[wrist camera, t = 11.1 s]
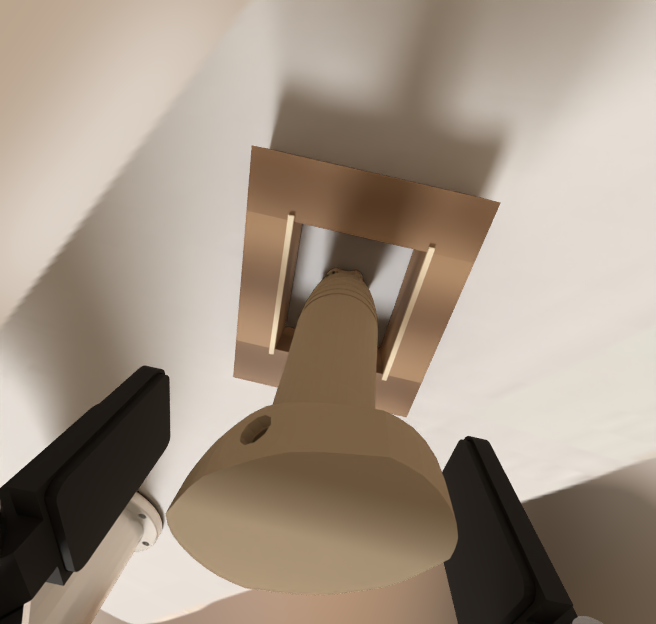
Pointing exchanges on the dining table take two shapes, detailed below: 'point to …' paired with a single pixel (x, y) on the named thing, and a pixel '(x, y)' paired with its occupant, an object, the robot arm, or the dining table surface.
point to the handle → (319, 471)
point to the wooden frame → (364, 221)
